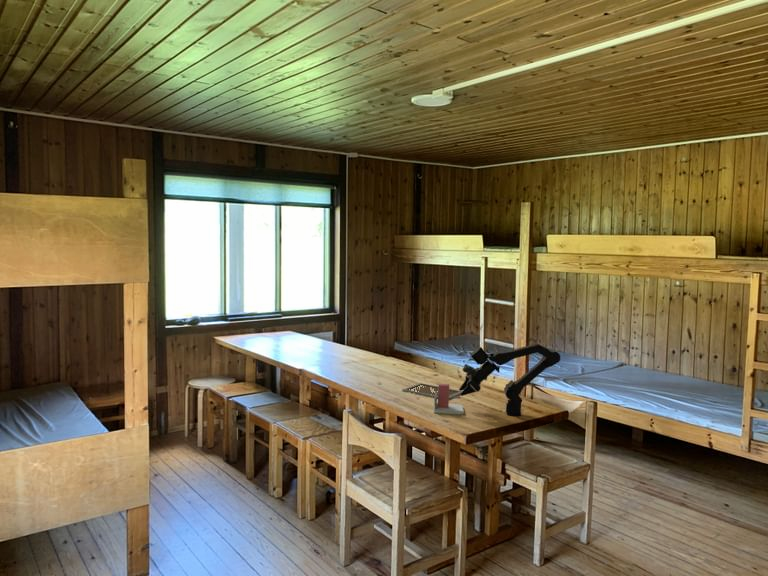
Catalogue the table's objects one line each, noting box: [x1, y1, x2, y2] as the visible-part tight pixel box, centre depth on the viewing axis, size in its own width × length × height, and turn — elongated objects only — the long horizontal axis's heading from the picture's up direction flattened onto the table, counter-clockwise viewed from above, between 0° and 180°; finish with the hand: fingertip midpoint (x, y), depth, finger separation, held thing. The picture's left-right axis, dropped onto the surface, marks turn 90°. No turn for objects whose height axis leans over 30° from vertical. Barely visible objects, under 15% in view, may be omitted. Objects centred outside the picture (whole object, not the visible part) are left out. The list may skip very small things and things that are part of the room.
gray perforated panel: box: [401, 382, 463, 400], centre depth 309 cm, size 19×2×30 cm
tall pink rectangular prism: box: [437, 383, 450, 408], centre depth 277 cm, size 5×4×11 cm
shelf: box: [433, 391, 465, 415], centre depth 277 cm, size 14×12×8 cm
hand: (460, 392), depth 276 cm, fingers open, 9 cm apart
